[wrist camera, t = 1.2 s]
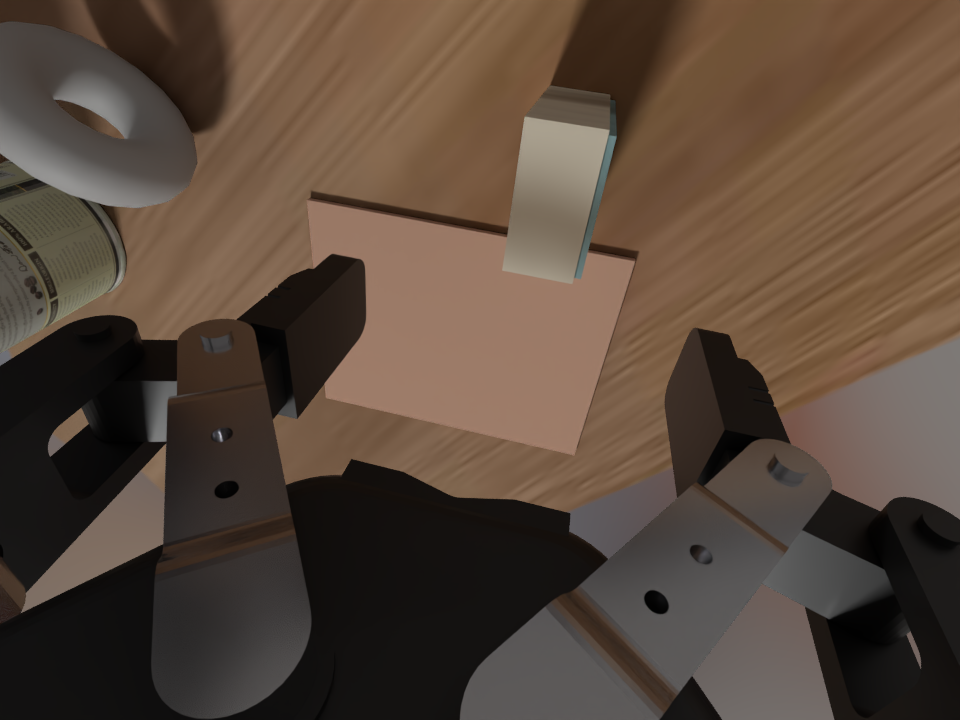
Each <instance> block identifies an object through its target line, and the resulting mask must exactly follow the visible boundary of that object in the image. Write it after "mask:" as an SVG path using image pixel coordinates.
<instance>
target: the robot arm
mask: <svg viewBox="0 0 960 720" xmlns="http://www.w3.org/2000/svg"><path fill="white" fill-rule="evenodd" d="M365 323H366V277H365V265H364V262H363V261H362V260H361V259H357V258H352V257H347V256H342V255H337V254H330V255H329V256H328V257H327V258H326V259H324V260H323V261H322V262H321V263H320V264H319V265H317V266H316V267H315V268H314V269H306V270H304V271H301V272H298V273H296V274H293V275H291V276H289V277H288V278H287V279H286V280H284V281H283V282H282V283H281V284H279V285H278V288H275V289H273V290H272V291H271V292H270V293H268V296H265V297H264V298H262V299H261V300H260V301H259V302H257V303H256V304H255V305H254V306H253V307H251V308H250V309H249V310H248V311H246V312H245V313H244V314H243V315H242V316H240V317H239V318H238V319H237V320H234V319H215V320H209V321H205V322H201V323H198V324H196V325H194V326H191V327H190V328H188V329H186V330H185V331H184V332H183V333H182V334H181V335H180V336H179V338H178V340H141V337H140V334H139V331H138V328H137V325H136V324H135V322H134V321H132V320H131V319H128V318H126V317H122V316H115V315H103V316H94V317H89V318H84V319H80V320H77V321H74V322H72V323H69V324H67V325H65V326H63V327H62V328H60V329H58V330H57V331H55V332H53V333H52V334H50V335H49V336H47V337H45V338H44V339H42V340H41V341H39V342H37V343H36V344H34V345H33V346H31V347H30V348H28V349H26V350H25V351H23V352H22V353H20V354H18V355H17V356H15V357H14V358H12V359H10V360H9V361H7V362H6V363H4V364H3V365H1V366H0V720H722V719H721V717H720V716H719V714H718V713H717V711H716V710H715V709H714V707H713V706H712V704H711V703H710V701H709V700H708V698H707V697H706V695H705V694H704V692H703V691H702V690H701V688H700V687H699V685H698V684H697V682H696V681H695V679H694V678H693V677H692V675H693V674H694V673H695V671H696V670H697V669H698V667H699V666H700V665H701V663H702V662H703V661H704V659H705V658H706V657H707V655H708V654H709V653H710V652H711V650H712V649H713V648H714V646H715V645H716V644H717V642H718V641H719V640H720V638H721V637H722V636H723V634H724V633H725V632H726V630H727V629H728V628H729V626H730V625H731V624H732V622H733V621H734V620H735V619H736V617H737V616H738V615H739V613H740V612H741V611H742V609H743V608H744V607H745V605H746V604H747V603H748V601H749V600H750V599H751V598H752V596H753V595H754V594H755V592H756V591H757V590H758V588H759V587H760V586H761V584H763V585H765V586H767V587H769V588H771V589H773V590H775V591H777V592H779V593H780V594H782V595H784V596H786V597H788V598H790V599H792V600H794V601H796V602H797V603H799V604H802V605H803V606H805V609H806V613H807V617H808V621H809V624H810V628H811V632H812V635H813V640H814V644H815V647H816V651H817V655H818V659H819V662H820V666H821V670H822V673H823V678H824V682H825V685H826V689H827V693H828V697H829V701H830V704H831V708H832V712H833V716H834V719H835V720H960V520H959V519H958V518H957V517H955V516H954V515H952V514H950V513H949V512H947V511H945V510H943V509H942V508H940V507H938V506H936V505H933V504H931V503H928V502H926V501H923V500H919V499H915V498H909V497H899V498H895V499H893V500H891V501H890V502H889V503H888V504H887V505H886V506H885V507H884V509H883V510H882V511H878V510H876V509H874V508H871V507H869V506H867V505H865V504H863V503H860V502H857V501H856V500H854V499H851V498H849V497H847V496H844V495H842V494H840V493H838V492H836V491H834V490H832V482H831V478H830V476H829V474H828V473H827V471H826V470H825V469H824V467H823V466H822V465H821V464H820V463H819V462H818V461H817V460H816V459H815V458H813V457H812V456H811V455H809V454H808V453H806V452H805V451H803V450H801V449H800V448H798V447H796V446H793V445H791V443H790V441H789V438H788V436H787V434H786V431H785V429H784V426H783V424H782V422H781V419H780V417H779V414H778V412H777V409H776V407H774V406H773V405H774V402H773V400H772V397H771V395H770V394H768V391H769V390H768V388H767V385H766V383H765V381H764V378H763V376H762V375H761V373H760V372H759V371H758V370H757V369H756V368H755V367H754V366H753V365H752V364H751V363H750V362H749V361H748V360H745V359H740V358H738V357H737V355H736V352H735V349H734V346H733V344H732V341H731V338H730V336H729V335H728V334H724V333H719V332H714V331H709V330H704V329H699V328H694V329H692V330H691V332H690V333H689V335H688V337H687V340H686V342H685V344H684V347H683V349H682V352H681V354H680V356H679V359H678V361H677V363H676V366H675V368H674V370H673V373H672V375H671V377H670V380H669V382H668V386H667V390H666V395H665V411H666V419H667V426H668V433H669V441H670V448H671V456H672V463H673V470H674V478H675V485H676V492H677V499H676V500H675V501H674V502H672V503H671V504H670V505H669V506H668V507H667V508H666V509H665V510H663V511H662V512H661V513H660V514H659V515H658V516H657V517H656V518H654V519H653V520H652V521H651V522H650V523H649V524H648V525H647V526H645V527H644V528H643V529H642V530H641V531H640V532H639V533H638V534H637V535H635V536H634V537H633V538H632V539H631V540H630V541H629V542H627V543H626V544H625V545H624V546H623V547H622V548H621V549H620V550H619V551H618V552H616V553H615V554H614V555H613V556H612V557H611V558H610V559H608V558H606V557H605V556H604V555H603V554H602V553H601V552H600V551H598V550H597V549H596V548H595V547H593V546H592V545H591V544H589V543H588V542H586V541H585V540H583V539H581V538H580V537H578V536H577V535H575V534H573V533H571V532H569V525H570V513H567V512H562V511H558V510H554V509H550V508H546V507H542V506H538V505H534V504H530V503H526V502H522V501H518V500H510V499H480V498H457V497H453V496H450V495H448V494H446V493H444V492H442V491H440V490H438V489H436V488H434V487H432V486H430V485H428V484H426V483H424V482H422V481H420V480H418V479H416V478H414V477H412V476H410V475H408V474H406V473H404V472H401V471H397V470H393V469H389V468H385V467H381V466H377V465H373V464H369V463H365V462H361V461H357V460H353V459H351V461H350V462H349V464H348V466H347V468H346V469H345V471H344V473H343V474H342V475H328V476H319V477H313V478H308V479H304V480H300V481H296V482H293V483H291V484H288V485H285V479H284V474H283V469H282V464H281V459H280V454H279V449H278V444H277V439H276V434H275V429H274V424H273V419H274V418H275V416H276V415H277V414H279V415H283V416H287V417H291V418H295V419H298V417H299V416H300V415H301V413H302V412H303V411H304V410H305V408H306V407H307V406H308V404H309V403H310V402H311V400H312V399H313V398H314V397H315V395H316V394H317V393H318V391H319V390H320V389H321V388H322V386H323V385H324V384H325V382H326V381H327V380H328V378H329V377H330V376H331V375H332V373H333V372H334V371H335V369H336V368H337V367H338V366H339V364H340V363H341V362H342V360H343V359H344V358H345V356H346V355H347V354H348V353H349V351H350V350H351V349H352V347H353V346H354V345H355V344H356V342H357V341H358V340H359V338H360V337H361V335H362V333H363V330H364V327H365ZM80 408H82V410H83V412H84V414H85V416H86V418H87V420H88V423H89V424H88V425H87V426H86V427H85V428H84V429H82V430H81V431H80V432H79V433H78V434H77V435H75V436H74V437H73V438H72V439H71V440H70V441H68V442H67V443H66V444H65V445H64V446H63V447H61V448H60V449H59V450H58V451H57V452H56V453H54V454H53V455H52V456H51V457H50V456H49V453H48V442H49V439H50V437H51V435H52V433H53V432H54V430H55V429H56V428H57V427H58V426H59V425H60V424H62V423H63V422H64V421H65V420H66V419H68V418H69V417H70V416H71V415H73V414H74V413H75V412H76V411H78V410H79V409H80ZM165 444H166V468H165V503H164V505H165V506H164V538H163V539H164V540H163V545H160V546H158V547H156V548H154V549H152V550H150V551H148V552H146V553H144V554H142V555H140V556H138V557H136V558H134V559H132V560H130V561H128V562H126V563H123V564H122V565H119V566H117V567H115V568H113V569H111V570H109V571H107V572H105V573H103V574H101V575H99V576H97V577H95V578H93V579H91V580H89V581H86V582H84V583H82V584H80V585H78V586H76V587H74V588H72V589H70V590H68V591H66V592H64V593H62V594H60V595H58V596H56V597H54V598H52V599H50V600H48V601H45V602H43V603H41V604H39V605H37V606H35V607H33V608H31V609H29V610H27V611H25V612H23V613H21V611H22V609H23V606H24V604H25V598H26V592H27V591H28V590H29V589H30V588H31V587H32V586H33V585H34V584H35V583H36V582H37V581H38V579H39V578H40V577H41V576H42V575H43V574H44V573H45V572H46V571H47V570H48V569H49V568H50V567H51V566H52V564H53V563H54V562H55V561H56V560H57V559H58V558H59V557H60V556H61V555H62V554H63V553H64V552H65V550H66V549H67V548H68V547H69V546H70V545H71V544H72V543H73V542H74V541H75V540H76V539H77V538H78V536H79V535H81V533H82V532H83V531H84V530H85V529H86V528H87V527H88V526H89V525H90V524H91V523H92V522H93V520H94V519H95V518H96V517H97V516H98V515H99V514H100V513H101V512H102V511H103V510H104V509H105V508H106V507H107V506H108V505H109V503H110V502H111V501H112V500H113V499H114V498H115V497H116V496H117V495H118V494H119V493H120V492H121V491H122V490H123V489H124V487H125V486H126V485H127V484H128V483H129V482H130V481H131V480H132V479H133V478H134V477H135V476H136V475H137V474H138V472H139V471H140V470H141V469H142V468H143V467H144V466H145V465H146V464H147V463H148V462H149V461H150V460H151V459H152V458H153V457H154V455H155V454H156V453H157V452H158V451H159V450H160V449H161V448H162V447H163V446H164V445H165ZM20 613H21V614H20ZM910 631H911V633H912V636H913V638H914V640H915V643H916V645H917V647H918V650H919V653H920V657H921V669H920V667H919V664H918V662H917V659H916V657H915V654H914V652H913V650H912V647H911V645H910V643H909V640H908V638H907V635H906V634H907V633H909V632H910Z"/></svg>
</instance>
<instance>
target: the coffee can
mask: <svg viewBox="0 0 960 720" xmlns="http://www.w3.org/2000/svg"><path fill="white" fill-rule="evenodd" d="M125 271H126V255H125V251H124V248H123V244H122V241H121V239H120V236H119V234H118V232H117V230H116V228H115V226H114V225H113V223H112V221H111V220H110V218H109V217H108V215H107V214H106V212H105V211H104V210H103V209H102V207H101V206H100V205H99V203H96V202H93V201H89V200H86V199H83V198H79V197H76V196H72V195H69V194H67V193H65V192H63V191H61V190H59V189H57V188H55V187H53V186H51V185H49V184H47V183H45V182H43V181H40V180H38V179H36V178H34V177H32V176H31V175H30V174H28V173H27V172H25V171H24V170H23V169H21V168H20V167H18V166H17V165H16V164H14V163H13V162H11V161H10V160H8V161H5V162H3V163H1V164H0V353H2V352H3V351H5V350H7V349H9V348H11V347H12V346H14V345H16V344H18V343H19V342H21V341H23V340H25V339H26V338H28V337H30V336H31V335H33V334H35V333H37V332H38V331H40V330H42V329H44V328H45V327H47V326H49V325H51V324H52V323H54V322H56V321H58V320H59V319H61V318H63V317H65V316H67V315H68V314H70V313H72V312H73V311H75V310H77V309H79V308H80V307H82V306H84V305H85V304H87V303H89V302H91V301H92V300H94V299H96V298H98V297H99V296H101V295H103V294H105V293H108V292H110V291H112V290H114V289H115V288H117V287H118V286H119V284H120V283H121V282H122V280H123V278H124V275H125Z"/></svg>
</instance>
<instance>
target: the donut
mask: <svg viewBox="0 0 960 720" xmlns="http://www.w3.org/2000/svg"><path fill="white" fill-rule="evenodd" d="M55 100H63V101H68V102H72V103H75V104H77V105H80V106H82V107H84V108H87V109H89V110H91V111H93V112H94V113H96V114H98V115H100V116H101V117H103V118H105V119H106V120H107V121H108V122H110V123H111V124H112V125H113V126H115V127H116V128H117V129H118V130H119V131H120V132H121V133H122V135H123V136H124V138H125V139H119V138H114V137H111V136H108V135H106V134H103V133H100V132H98V131H95V130H93V129H92V128H90V127H88V126H86V125H85V124H83V123H81V122H79V121H77V120H76V119H75V118H73V117H72V116H71V115H70V114H68V113H67V112H66V111H65V110H63V109H62V108H61V107H60V106H59V105H58V104H57V103H56V101H55ZM0 154H2V155H3V156H4V157H6V158H7V159H9V160H10V161H11V162H13V163H14V164H16V165H17V166H18V167H20V168H21V169H23V170H24V171H25V172H27V173H28V174H30V175H31V176H32V177H34V178H36V179H38V180H40V181H43V182H45V183H47V184H49V185H51V186H53V187H55V188H57V189H59V190H61V191H63V192H65V193H67V194H69V195H72V196H76V197H79V198H83V199H86V200H89V201H93V202H96V203H100V204H103V205H107V206H118V207H131V208H141V207H146V206H150V205H155V204H160V203H164V202H168V201H170V200H171V199H172V198H174V197H175V196H176V195H178V194H179V193H180V192H182V191H183V190H184V189H185V188H187V187H188V186H189V184H190V182H191V179H192V176H193V174H194V171H195V168H196V165H197V154H196V148H195V142H194V136H193V134H192V133H191V131H190V129H189V127H188V125H187V123H186V121H185V119H184V117H183V116H182V114H181V112H180V110H179V109H178V108H177V107H176V106H175V104H174V103H173V102H172V101H171V100H170V98H169V97H168V96H167V95H166V94H165V92H164V91H163V90H162V89H161V88H160V87H159V86H157V85H156V84H155V83H154V82H153V81H152V80H151V79H149V78H148V77H147V76H146V75H145V74H144V73H143V72H141V71H140V70H139V69H138V68H136V67H135V66H133V65H132V64H130V63H129V62H127V61H126V60H124V59H123V58H121V57H120V56H118V55H117V54H115V53H114V52H112V51H110V50H108V49H106V48H104V47H102V46H100V45H98V44H96V43H94V42H92V41H90V40H88V39H86V38H84V37H82V36H79V35H76V34H73V33H70V32H67V31H64V30H61V29H58V28H55V27H52V26H48V25H40V24H32V23H24V22H14V21H9V22H4V23H0Z"/></svg>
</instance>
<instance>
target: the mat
mask: <svg viewBox="0 0 960 720" xmlns="http://www.w3.org/2000/svg"><path fill="white" fill-rule="evenodd" d="M307 206H308V216H309V227H310V237H311V248H312V258H313V268H315V267H316V266H317V265H319V264H320V263H321V262H322V261H323V260H324V259H326V258H327V257H328V256H329V255H330V254H337V255H342V256H347V257H352V258H357V259H361V260H362V261H363V262H364V265H365V277H366V323H365V327H364V330H363V333H362V335H361V337H360V338H359V340H358V341H357V342H356V344H355V345H354V346H353V347H352V349H351V350H350V351H349V353H348V354H347V355H346V356H345V358H344V359H343V360H342V362H341V363H340V364H339V366H338V367H337V368H336V369H335V371H334V372H333V373H332V375H331V376H330V377H329V378H328V380H327V381H326V382H325V392H326V398H329V399H333V400H338V401H342V402H346V403H351V404H355V405H359V406H364V407H368V408H372V409H377V410H381V411H385V412H390V413H394V414H398V415H402V416H407V417H411V418H415V419H420V420H424V421H428V422H433V423H437V424H441V425H446V426H450V427H454V428H459V429H463V430H467V431H472V432H476V433H480V434H484V435H489V436H493V437H497V438H502V439H506V440H510V441H515V442H519V443H523V444H528V445H532V446H536V447H541V448H545V449H549V450H553V451H558V452H562V453H566V454H571V455H575V451H576V448H577V445H578V442H579V439H580V436H581V432H582V429H583V426H584V423H585V420H586V416H587V413H588V410H589V407H590V404H591V401H592V397H593V394H594V391H595V388H596V385H597V382H598V378H599V375H600V372H601V369H602V366H603V362H604V359H605V356H606V353H607V350H608V347H609V343H610V340H611V337H612V334H613V331H614V328H615V324H616V321H617V318H618V315H619V312H620V309H621V305H622V302H623V299H624V296H625V293H626V289H627V286H628V283H629V280H630V277H631V274H632V270H633V267H634V264H635V258H629V257H624V256H619V255H613V254H608V253H603V252H597V251H592V250H588V253H587V257H586V261H585V265H584V269H583V273H582V277H581V279H577V278H574V280H573V284H569V283H564V282H559V281H553V280H548V279H543V278H538V277H533V276H528V275H523V274H517V273H512V272H507V271H502V268H503V261H504V255H505V248H506V241H507V235H506V234H501V233H495V232H490V231H485V230H479V229H474V228H469V227H463V226H458V225H452V224H447V223H442V222H436V221H431V220H426V219H420V218H415V217H410V216H404V215H399V214H394V213H388V212H383V211H377V210H372V209H367V208H361V207H356V206H351V205H345V204H340V203H335V202H329V201H324V200H318V199H313V198H309V199H308V200H307Z"/></svg>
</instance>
